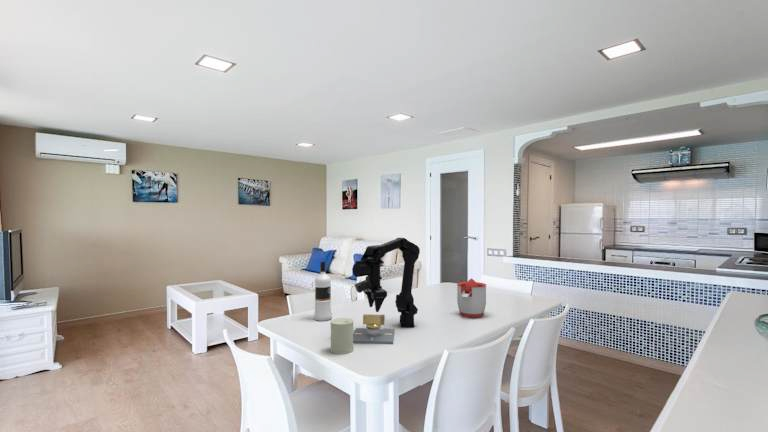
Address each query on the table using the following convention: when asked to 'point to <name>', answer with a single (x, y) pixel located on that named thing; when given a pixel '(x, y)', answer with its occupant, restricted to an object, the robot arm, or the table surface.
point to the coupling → (373, 321)
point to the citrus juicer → (471, 298)
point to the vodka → (322, 295)
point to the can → (341, 336)
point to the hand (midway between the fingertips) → (374, 309)
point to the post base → (373, 336)
